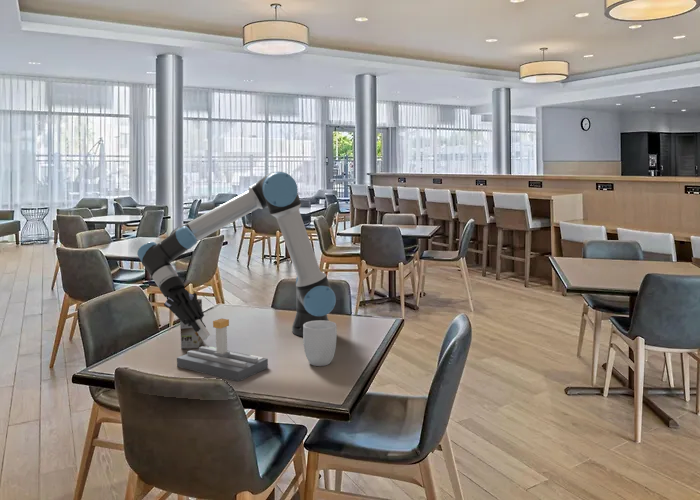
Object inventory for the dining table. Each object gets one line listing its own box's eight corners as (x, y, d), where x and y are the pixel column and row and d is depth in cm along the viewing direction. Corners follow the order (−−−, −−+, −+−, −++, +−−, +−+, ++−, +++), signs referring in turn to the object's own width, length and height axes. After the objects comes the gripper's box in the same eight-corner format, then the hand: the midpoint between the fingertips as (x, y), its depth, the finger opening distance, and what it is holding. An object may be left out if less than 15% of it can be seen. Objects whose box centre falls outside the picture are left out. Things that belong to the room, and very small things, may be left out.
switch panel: (267, 367, 182) (267, 355, 181) (238, 381, 170) (238, 367, 169) (208, 354, 195) (207, 342, 194) (177, 366, 183) (176, 354, 182)
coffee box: (199, 348, 202) (197, 304, 200) (180, 348, 202) (179, 304, 199) (203, 340, 211) (201, 298, 209) (185, 341, 211) (184, 299, 209)
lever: (231, 356, 182) (230, 319, 181) (222, 359, 179) (221, 322, 177) (221, 354, 184) (220, 318, 183) (213, 357, 181) (211, 320, 179)
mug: (300, 355, 195) (300, 318, 193) (332, 353, 197) (332, 316, 195) (305, 369, 180) (304, 329, 178) (339, 367, 182) (339, 328, 180)
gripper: (178, 285, 197) (214, 339, 191) (148, 292, 186) (185, 349, 180) (188, 272, 194) (226, 326, 188) (158, 278, 183) (197, 335, 177)
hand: (206, 337), depth 184 cm, fingers closed
